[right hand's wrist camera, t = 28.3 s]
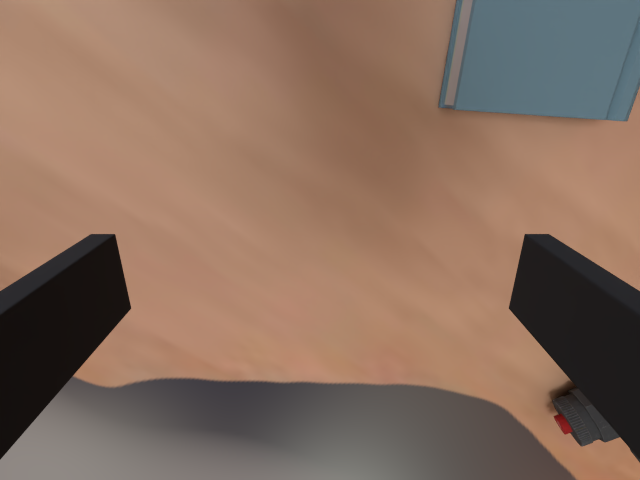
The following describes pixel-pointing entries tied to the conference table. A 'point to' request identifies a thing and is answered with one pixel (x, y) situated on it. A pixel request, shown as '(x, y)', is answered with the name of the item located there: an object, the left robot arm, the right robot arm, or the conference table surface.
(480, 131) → the conference table surface
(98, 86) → the conference table surface
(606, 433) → the laser sight
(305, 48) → the conference table surface
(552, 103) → the book
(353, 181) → the conference table surface
